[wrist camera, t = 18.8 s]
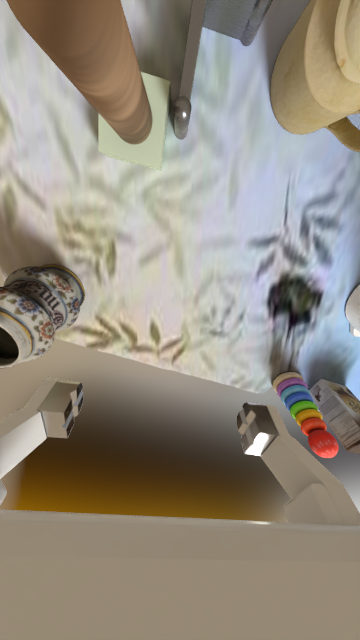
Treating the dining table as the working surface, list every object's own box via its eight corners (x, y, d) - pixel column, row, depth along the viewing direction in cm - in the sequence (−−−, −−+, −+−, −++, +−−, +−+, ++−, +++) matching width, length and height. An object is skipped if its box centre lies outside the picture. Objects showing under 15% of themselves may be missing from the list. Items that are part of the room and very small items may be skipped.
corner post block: (257, 24, 23) (291, -49, 16) (225, 152, 29) (240, 137, 22) (193, 0, 22) (200, -89, 15) (173, 137, 28) (172, 117, 21)
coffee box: (346, 385, 56) (402, 445, 42) (330, 399, 59) (377, 459, 45) (321, 377, 54) (371, 437, 40) (305, 392, 57) (347, 452, 44)
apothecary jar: (19, 254, 36) (-98, 293, 21) (87, 263, 37) (25, 306, 22) (34, 312, 42) (-47, 375, 27) (92, 318, 43) (47, 383, 28)
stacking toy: (272, 372, 53) (314, 447, 37) (303, 368, 52) (359, 442, 36) (270, 391, 57) (308, 466, 41) (299, 388, 56) (348, 462, 40)
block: (170, 96, 26) (170, 80, 23) (161, 170, 30) (159, 166, 27) (108, 77, 25) (98, 58, 22) (107, 156, 29) (98, 150, 26)
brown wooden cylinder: (155, 94, 23) (110, -121, 8) (150, 149, 26) (108, 68, 10) (111, 82, 23) (-30, -177, 7) (110, 138, 25) (4, 38, 10)
